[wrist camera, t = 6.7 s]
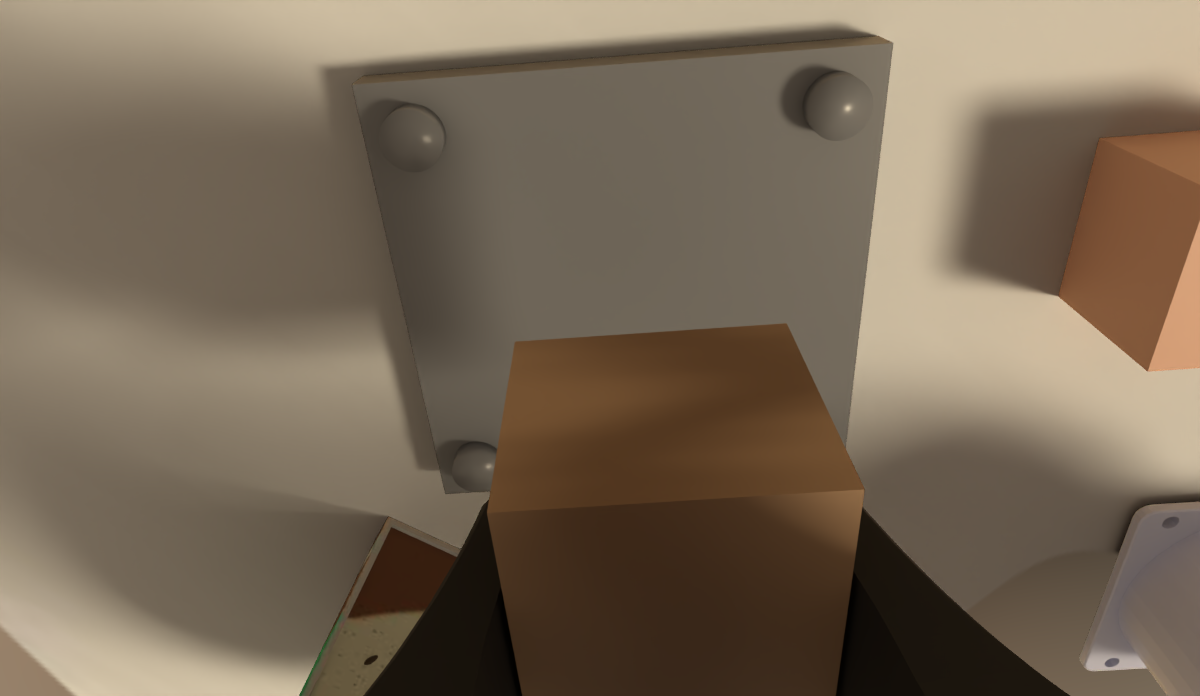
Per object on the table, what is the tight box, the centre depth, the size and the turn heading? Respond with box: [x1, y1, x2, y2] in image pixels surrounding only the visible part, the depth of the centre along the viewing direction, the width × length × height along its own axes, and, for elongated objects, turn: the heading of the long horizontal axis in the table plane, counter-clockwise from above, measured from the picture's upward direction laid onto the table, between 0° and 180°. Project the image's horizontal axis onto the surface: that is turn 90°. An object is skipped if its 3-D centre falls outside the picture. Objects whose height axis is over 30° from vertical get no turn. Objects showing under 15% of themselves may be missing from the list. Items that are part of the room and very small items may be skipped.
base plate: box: [352, 36, 893, 494], centre depth 20 cm, size 12×12×2 cm
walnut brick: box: [487, 323, 865, 696], centre depth 12 cm, size 4×6×4 cm
